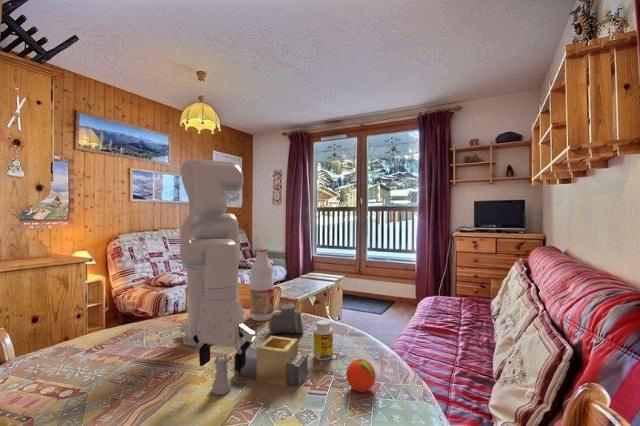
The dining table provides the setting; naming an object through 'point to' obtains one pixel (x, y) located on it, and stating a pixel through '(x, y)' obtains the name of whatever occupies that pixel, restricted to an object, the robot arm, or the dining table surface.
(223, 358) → the rook chess piece
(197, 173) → the robot arm
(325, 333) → the supplement bottle
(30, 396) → the dining table surface
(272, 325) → the pipe fitting
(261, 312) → the fruit juice
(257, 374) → the valve body
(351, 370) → the clementine
